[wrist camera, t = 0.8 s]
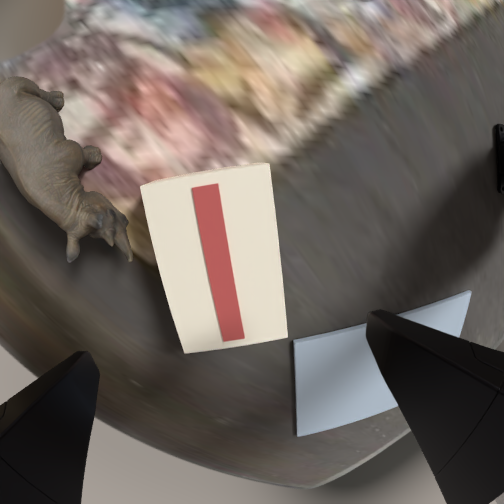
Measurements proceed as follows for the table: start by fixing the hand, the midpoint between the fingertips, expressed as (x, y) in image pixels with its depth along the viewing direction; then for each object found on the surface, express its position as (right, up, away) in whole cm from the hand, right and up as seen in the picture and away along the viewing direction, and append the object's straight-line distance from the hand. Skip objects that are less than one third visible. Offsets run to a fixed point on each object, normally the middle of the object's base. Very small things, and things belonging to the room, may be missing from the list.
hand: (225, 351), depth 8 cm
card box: (-1, +3, +9) cm, 10 cm away
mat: (+13, -8, +14) cm, 21 cm away
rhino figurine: (-10, +8, +6) cm, 14 cm away
